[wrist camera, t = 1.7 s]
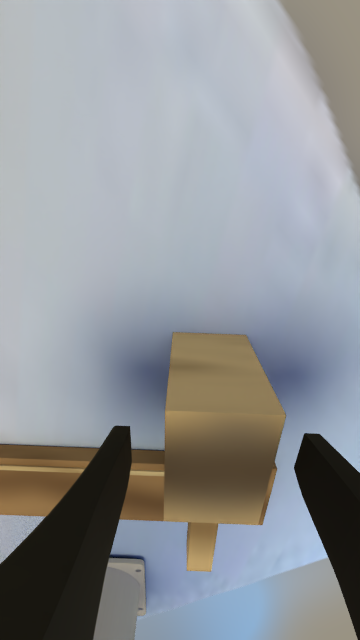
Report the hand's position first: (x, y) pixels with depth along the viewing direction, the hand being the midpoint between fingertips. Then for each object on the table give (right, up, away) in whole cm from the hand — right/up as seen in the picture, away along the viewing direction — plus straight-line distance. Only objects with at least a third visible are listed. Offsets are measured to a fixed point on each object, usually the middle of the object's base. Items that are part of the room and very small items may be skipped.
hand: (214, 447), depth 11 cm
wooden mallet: (0, -1, +6) cm, 6 cm away
